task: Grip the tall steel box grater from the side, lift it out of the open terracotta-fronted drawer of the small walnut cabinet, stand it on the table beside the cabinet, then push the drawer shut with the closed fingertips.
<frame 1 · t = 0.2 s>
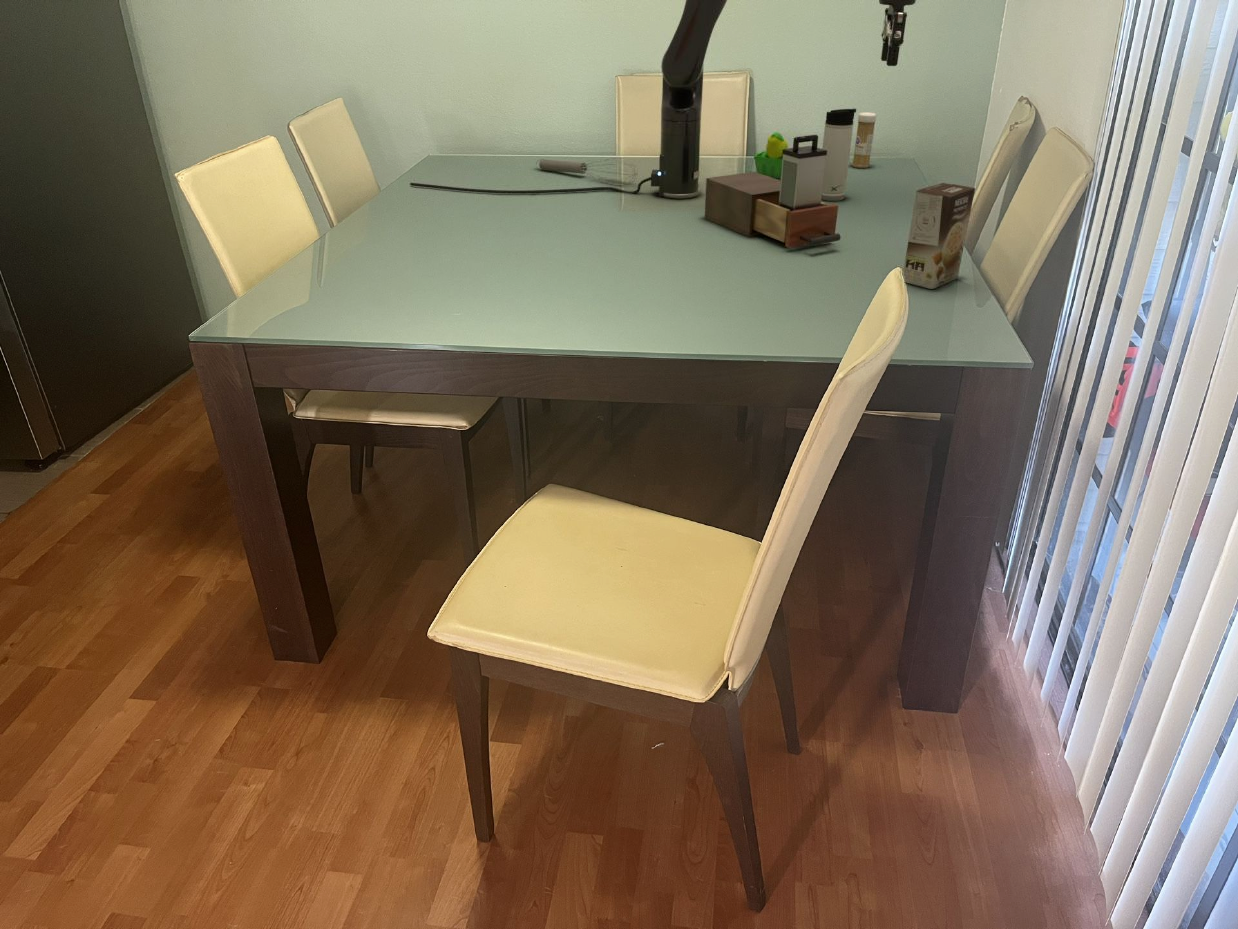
hand: (888, 63, 196), 29 cm above the table, tool pointing down, fingers open, 8 cm apart
travel mug: (831, 198, 212), on the table
drawer: (795, 219, 180), point 4 cm above the table, slide at 11.0 cm, touching grater
fruit basket: (776, 177, 231), on the table
sprinkles bottle: (860, 167, 241), on the table
cabinet: (750, 223, 193), on the table
kitchen whisk: (584, 178, 231), on the table
coffee box: (929, 281, 161), on the table
grater: (796, 231, 180), point 2 cm above the table, touching drawer
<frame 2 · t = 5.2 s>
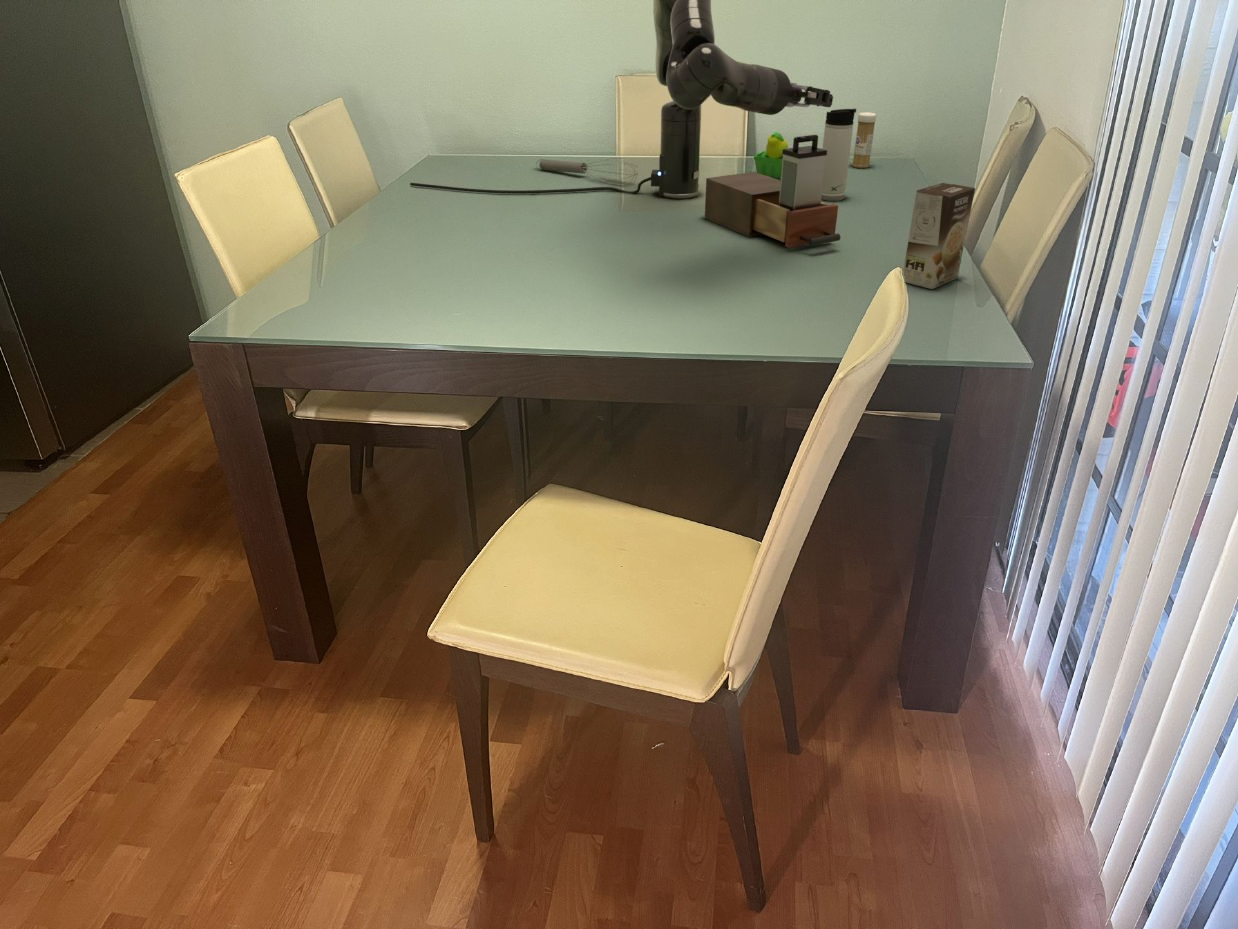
hand: (810, 100, 168), 27 cm above the table, tool horizontal, fingers open, 8 cm apart
nothing on the table moved.
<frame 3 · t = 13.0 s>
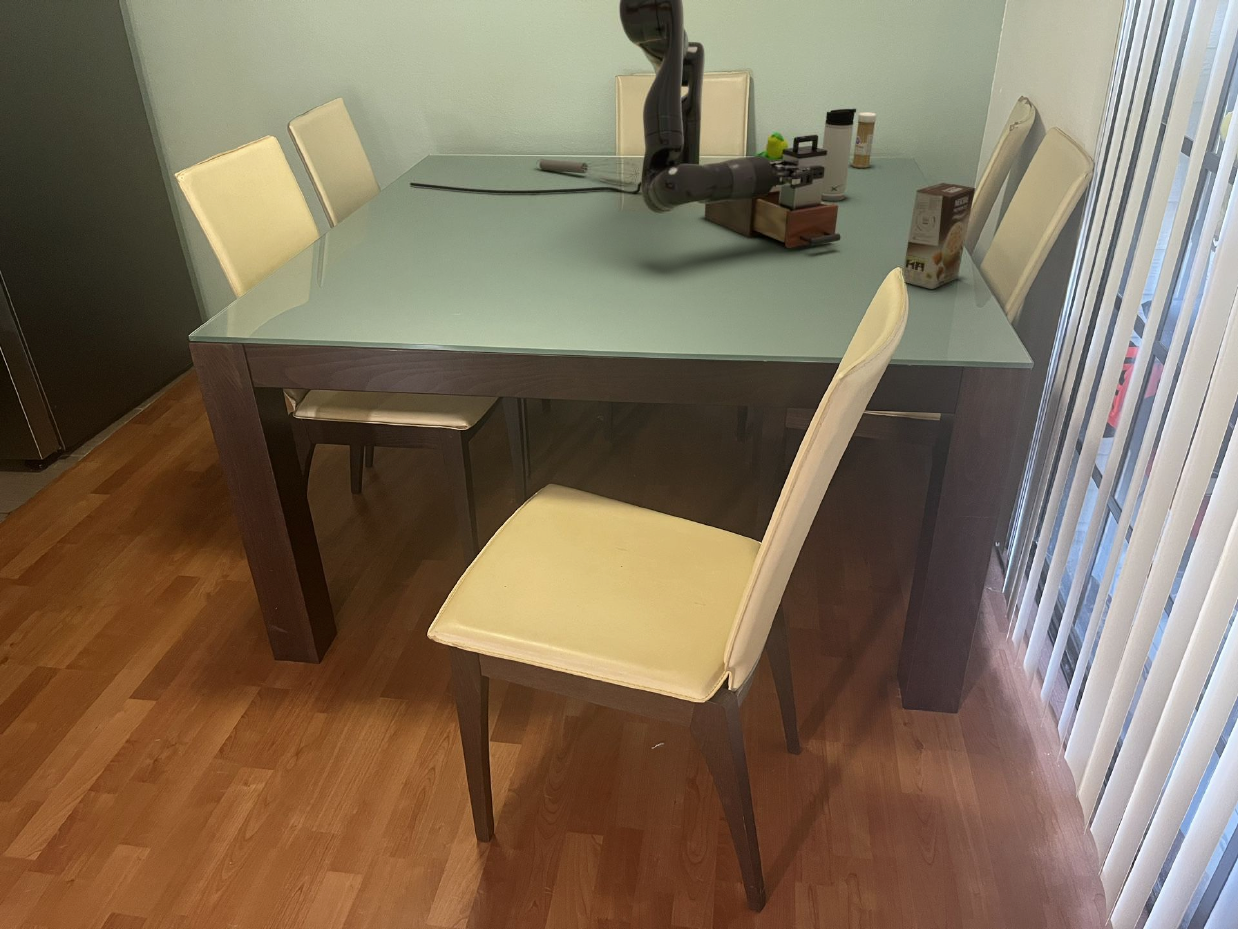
hand: (813, 169, 175), 14 cm above the table, tool horizontal, fingers closed on grater, 5 cm apart
grater: (796, 231, 180), point 2 cm above the table, touching drawer, gripper
everything else where it was.
when the fingers open (12 cm above the table, at t = 22.8 s): grater stays where it is, on the table.
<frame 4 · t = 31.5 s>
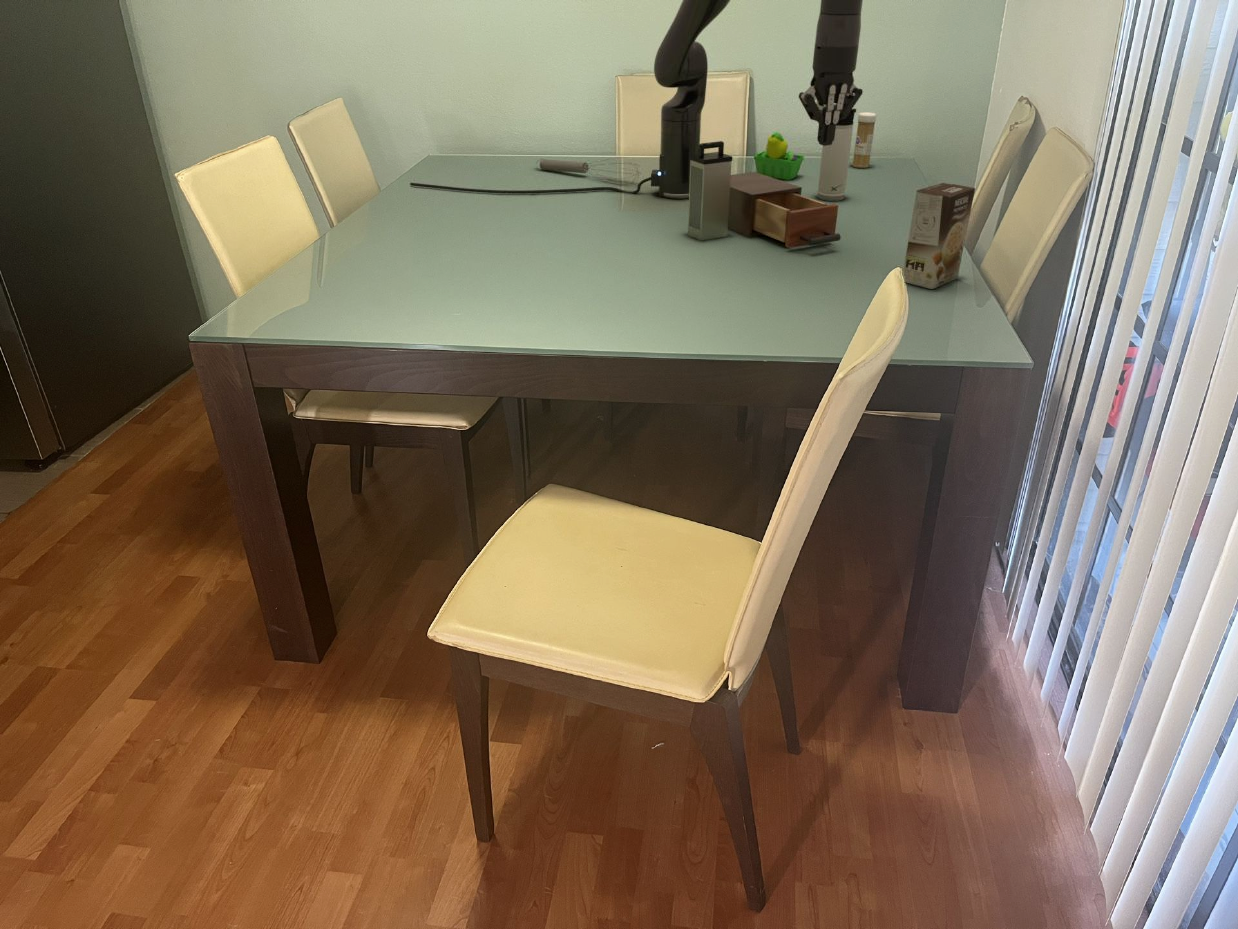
hand: (825, 144, 166), 20 cm above the table, tool pointing down, fingers closed
drawer: (795, 219, 180), point 4 cm above the table, slide at 11.0 cm
grater: (707, 235, 186), on the table
everything else where it was.
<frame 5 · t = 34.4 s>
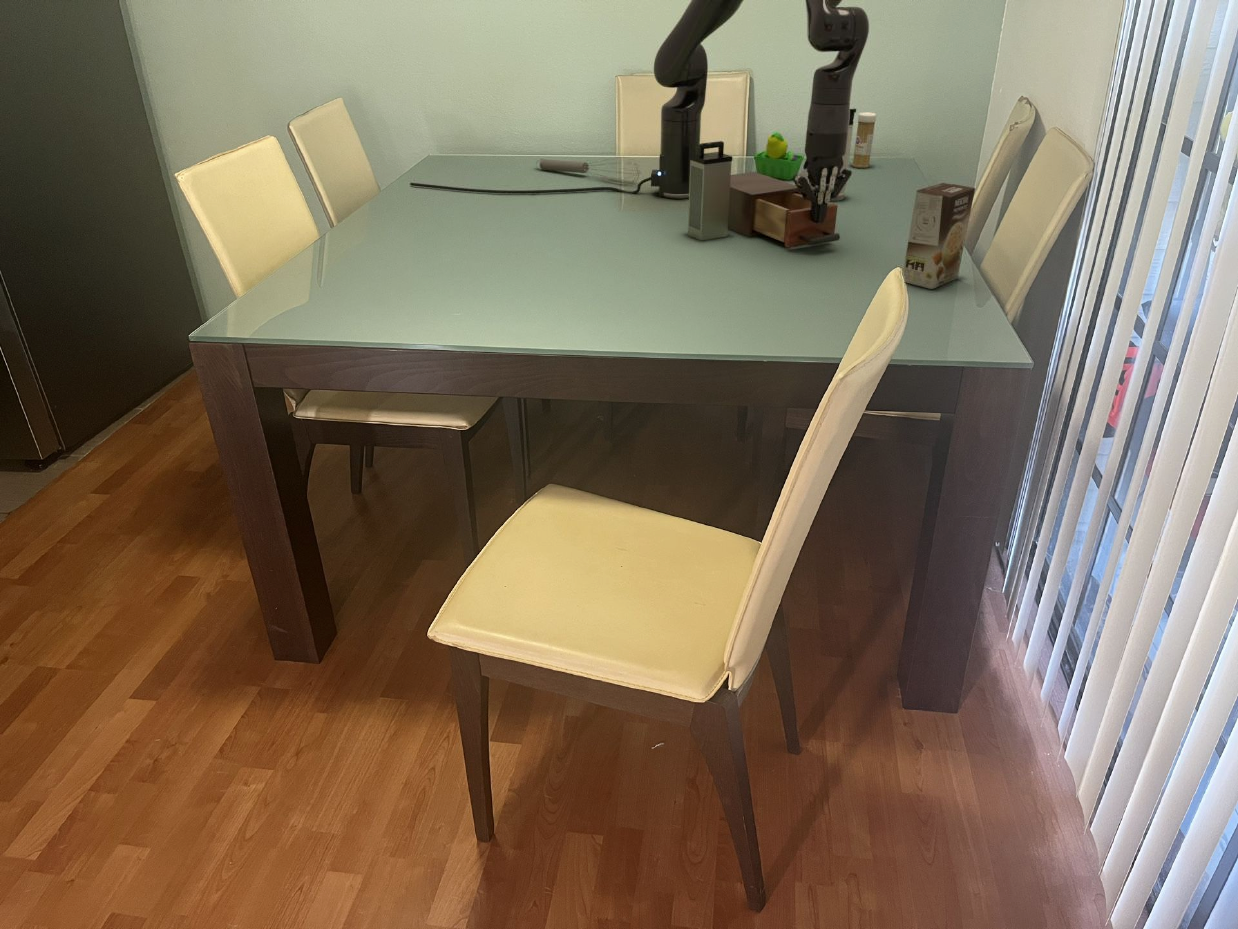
hand: (817, 221, 174), 5 cm above the table, tool pointing down, fingers closed
drawer: (794, 219, 180), point 4 cm above the table, slide at 10.8 cm, touching gripper
everything else where it was.
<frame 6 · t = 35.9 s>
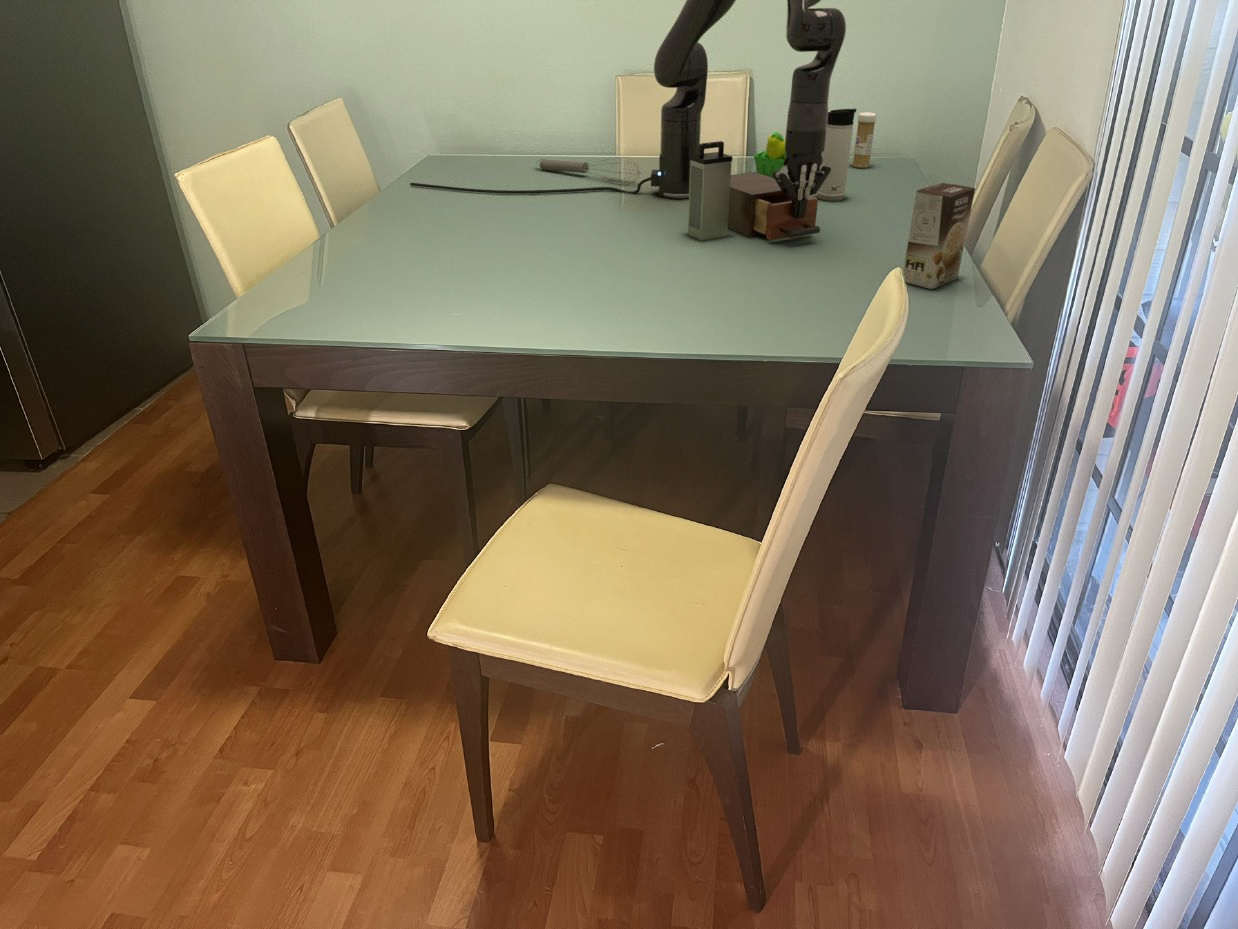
hand: (797, 217, 179), 5 cm above the table, tool pointing down, fingers closed
drawer: (776, 212, 184), point 4 cm above the table, slide at 4.9 cm, touching gripper
everything else where it was.
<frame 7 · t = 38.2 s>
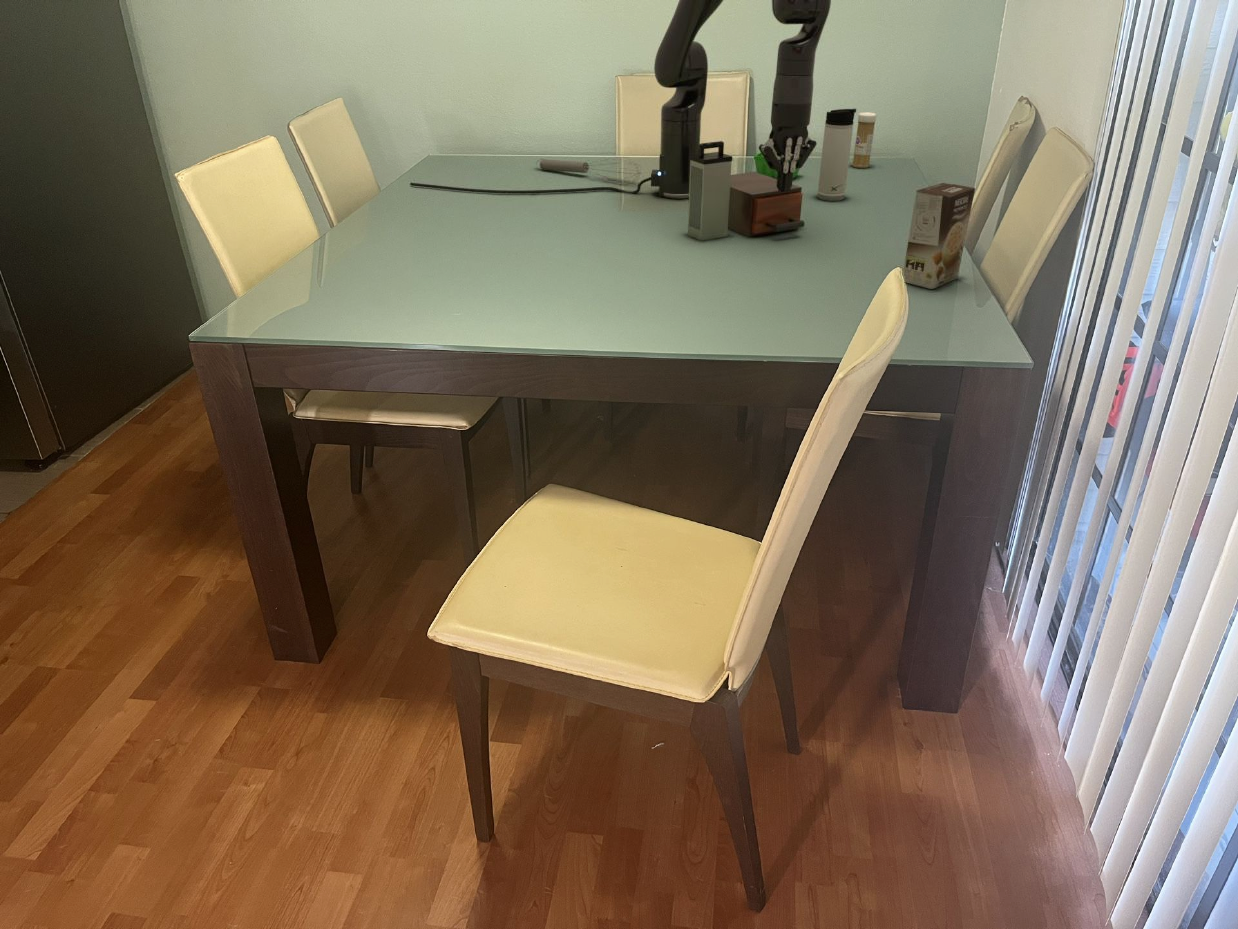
hand: (783, 190, 181), 9 cm above the table, tool pointing down, fingers closed
drawer: (762, 207, 188), point 4 cm above the table, slide at 0.0 cm, touching cabinet
everything else where it was.
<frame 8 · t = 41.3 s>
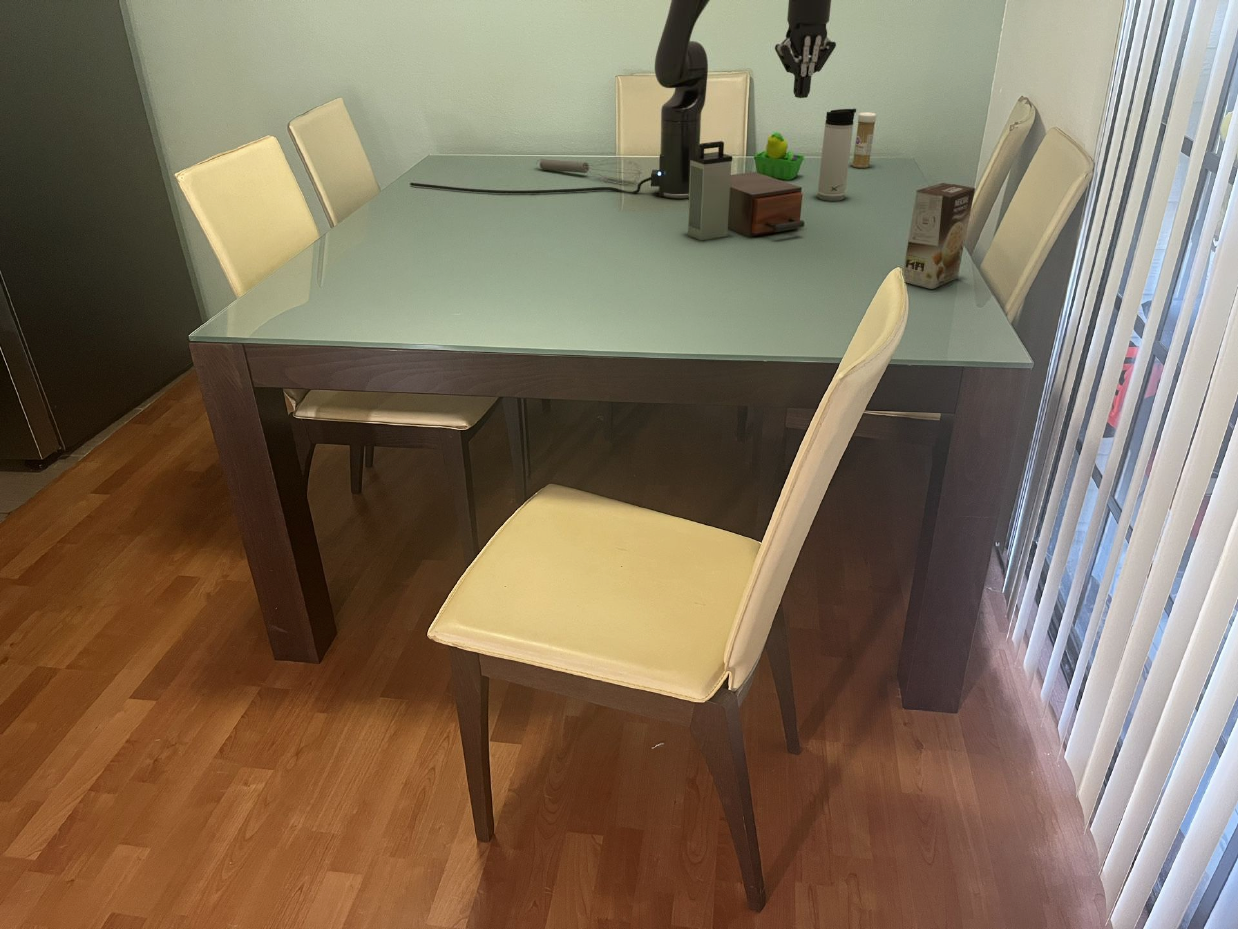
hand: (800, 97, 170), 27 cm above the table, tool pointing down, fingers closed
nothing on the table moved.
at the end: grater inside the target area (0.1 cm from its centre), on the table; grater tilted 0°; drawer slide at 0.0 cm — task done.
